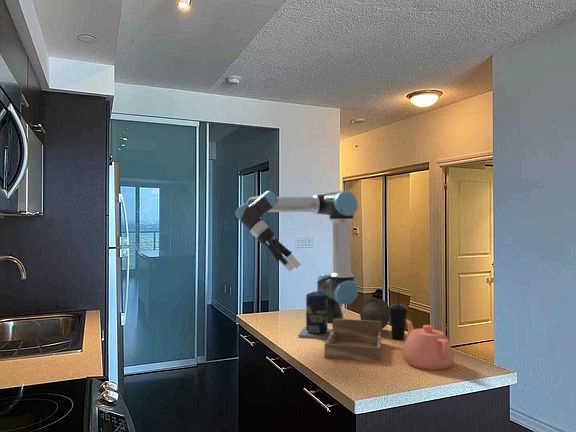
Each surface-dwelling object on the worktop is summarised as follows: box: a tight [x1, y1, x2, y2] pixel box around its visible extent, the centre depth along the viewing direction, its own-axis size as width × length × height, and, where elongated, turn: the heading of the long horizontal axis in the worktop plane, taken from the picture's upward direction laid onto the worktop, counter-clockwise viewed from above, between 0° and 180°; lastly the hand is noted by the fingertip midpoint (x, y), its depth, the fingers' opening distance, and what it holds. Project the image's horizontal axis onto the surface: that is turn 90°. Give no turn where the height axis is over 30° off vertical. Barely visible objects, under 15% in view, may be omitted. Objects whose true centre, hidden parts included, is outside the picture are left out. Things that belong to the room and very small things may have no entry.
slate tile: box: [297, 327, 333, 340], centre depth 195 cm, size 14×14×1 cm
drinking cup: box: [388, 291, 408, 341], centre depth 190 cm, size 8×8×20 cm
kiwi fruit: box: [359, 297, 391, 330], centre depth 202 cm, size 14×14×15 cm
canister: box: [305, 290, 328, 333], centre depth 196 cm, size 10×10×18 cm
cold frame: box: [323, 318, 382, 363], centre depth 172 cm, size 26×20×9 cm
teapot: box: [402, 318, 455, 371], centre depth 158 cm, size 25×17×13 cm
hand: (295, 268), depth 192 cm, fingers open, 13 cm apart
